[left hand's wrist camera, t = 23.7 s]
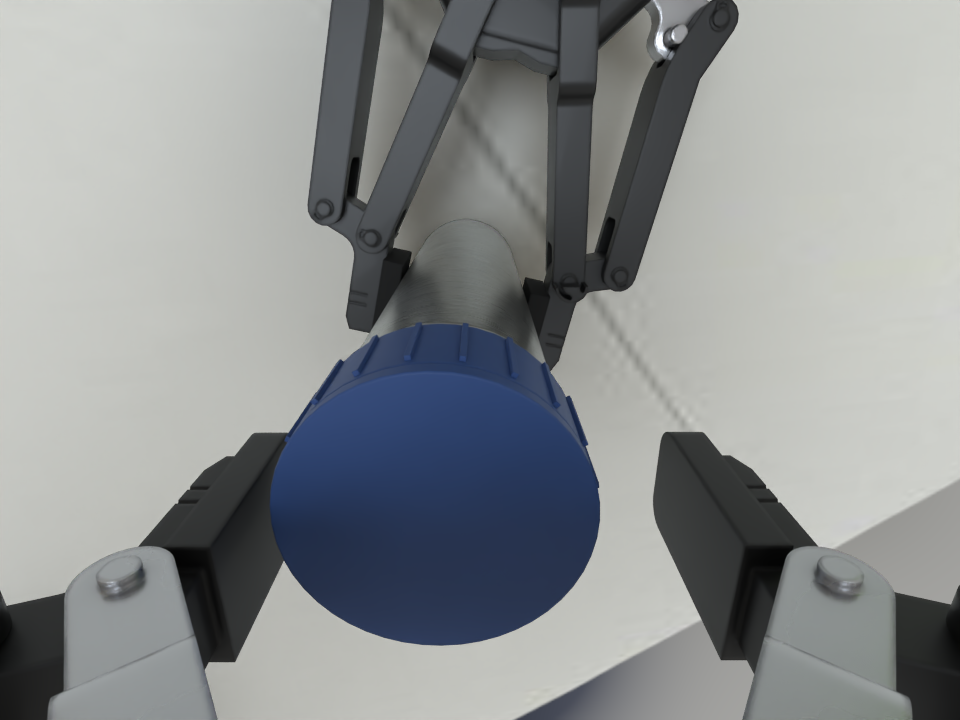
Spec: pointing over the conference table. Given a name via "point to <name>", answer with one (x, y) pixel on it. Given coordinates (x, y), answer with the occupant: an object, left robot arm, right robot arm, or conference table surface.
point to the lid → (437, 488)
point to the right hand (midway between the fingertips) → (436, 414)
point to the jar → (463, 287)
